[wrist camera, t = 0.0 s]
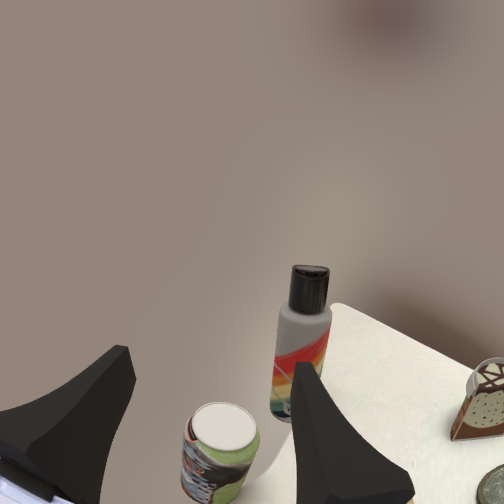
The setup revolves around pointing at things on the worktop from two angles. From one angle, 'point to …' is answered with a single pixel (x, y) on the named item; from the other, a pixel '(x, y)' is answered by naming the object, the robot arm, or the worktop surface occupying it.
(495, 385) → the food container
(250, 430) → the beverage can
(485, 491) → the grey small piece
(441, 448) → the worktop surface
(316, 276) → the lotion bottle
